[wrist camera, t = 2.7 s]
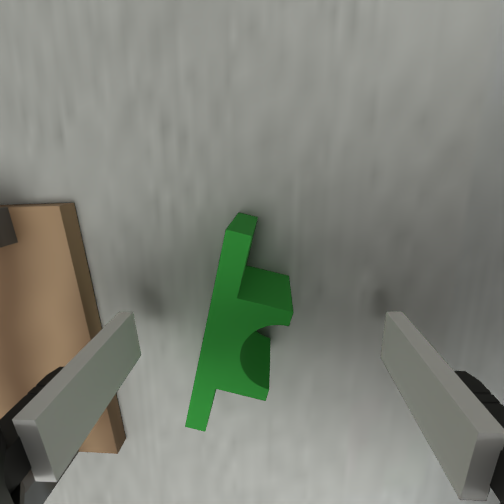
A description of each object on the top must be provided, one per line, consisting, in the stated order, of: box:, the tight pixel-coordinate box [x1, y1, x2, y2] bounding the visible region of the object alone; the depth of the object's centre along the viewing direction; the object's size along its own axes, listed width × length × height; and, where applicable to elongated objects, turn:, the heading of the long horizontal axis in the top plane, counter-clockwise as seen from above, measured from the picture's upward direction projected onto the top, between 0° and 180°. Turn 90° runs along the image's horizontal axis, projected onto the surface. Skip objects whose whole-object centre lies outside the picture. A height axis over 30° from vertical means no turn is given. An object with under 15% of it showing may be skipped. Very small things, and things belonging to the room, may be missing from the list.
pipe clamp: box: [185, 213, 293, 431], centre depth 16 cm, size 11×4×5 cm, turn 167°
